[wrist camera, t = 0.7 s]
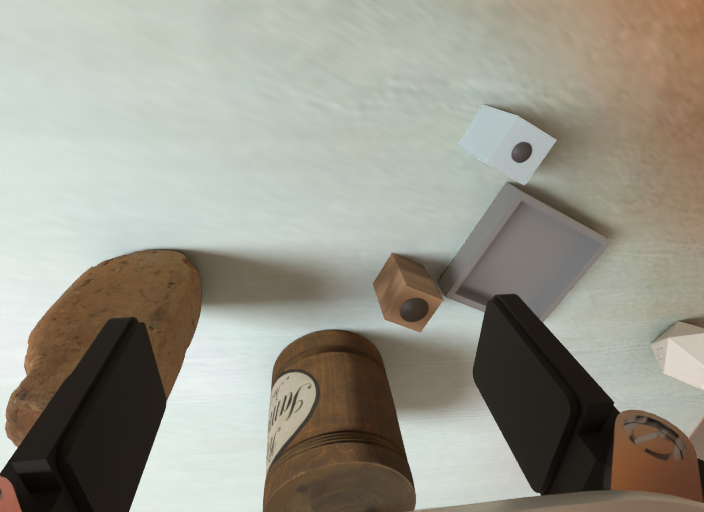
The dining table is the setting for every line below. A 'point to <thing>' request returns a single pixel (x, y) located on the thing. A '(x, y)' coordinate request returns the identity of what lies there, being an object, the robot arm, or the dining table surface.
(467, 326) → the dining table surface
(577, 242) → the tray
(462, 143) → the grey rectangular block
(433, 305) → the walnut block
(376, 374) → the wooden container
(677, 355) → the die
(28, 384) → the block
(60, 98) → the dining table surface
